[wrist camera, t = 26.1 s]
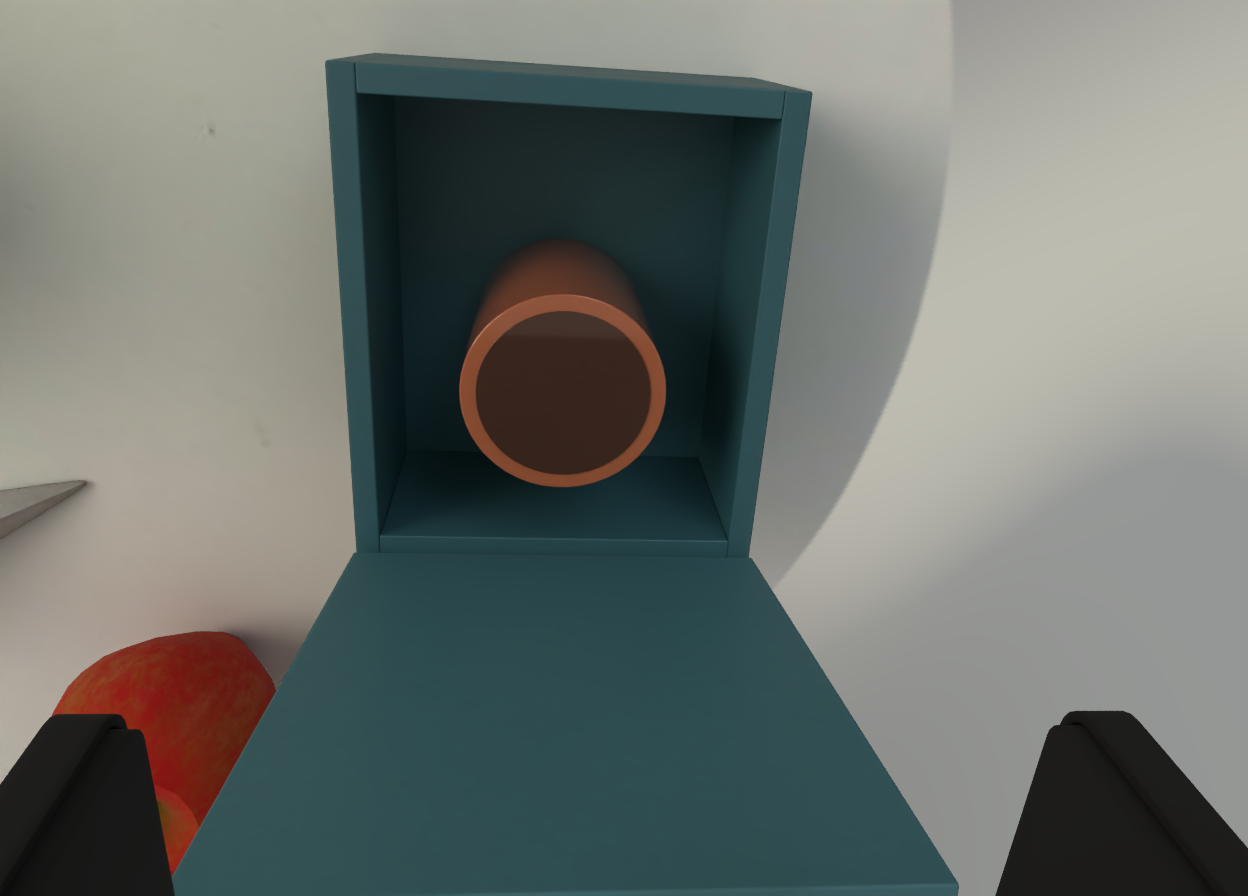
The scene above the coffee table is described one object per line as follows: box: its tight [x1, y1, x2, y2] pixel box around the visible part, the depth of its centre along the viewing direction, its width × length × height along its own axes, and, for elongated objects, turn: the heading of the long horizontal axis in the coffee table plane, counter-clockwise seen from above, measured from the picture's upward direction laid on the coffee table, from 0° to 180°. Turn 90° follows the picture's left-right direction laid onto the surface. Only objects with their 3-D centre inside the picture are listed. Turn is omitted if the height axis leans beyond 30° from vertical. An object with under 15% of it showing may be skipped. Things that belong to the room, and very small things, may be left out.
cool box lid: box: [172, 552, 959, 896], centre depth 24 cm, size 16×14×5 cm
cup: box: [459, 238, 666, 487], centre depth 32 cm, size 6×6×8 cm
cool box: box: [325, 53, 812, 558], centre depth 32 cm, size 16×14×8 cm
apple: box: [51, 631, 276, 877], centre depth 37 cm, size 9×8×11 cm
